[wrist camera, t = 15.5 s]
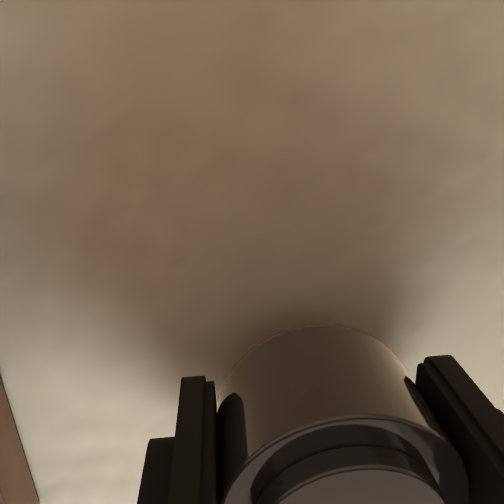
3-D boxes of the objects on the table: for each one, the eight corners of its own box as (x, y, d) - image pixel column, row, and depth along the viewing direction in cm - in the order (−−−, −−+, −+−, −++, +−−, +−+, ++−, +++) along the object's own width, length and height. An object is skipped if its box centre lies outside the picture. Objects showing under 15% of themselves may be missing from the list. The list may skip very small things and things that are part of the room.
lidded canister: (416, 315, 10) (507, 424, 7) (401, 470, 12) (468, 614, 9) (208, 331, 10) (205, 453, 7) (223, 488, 12) (226, 642, 9)
